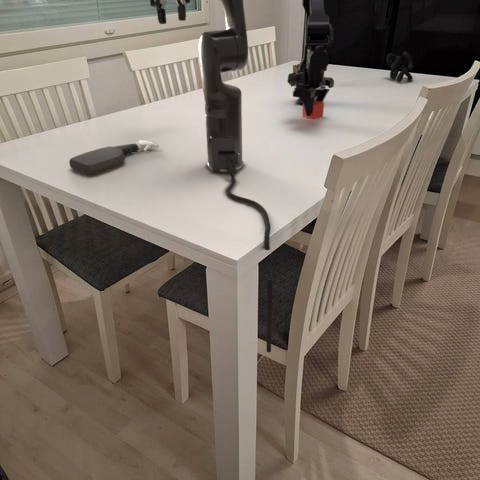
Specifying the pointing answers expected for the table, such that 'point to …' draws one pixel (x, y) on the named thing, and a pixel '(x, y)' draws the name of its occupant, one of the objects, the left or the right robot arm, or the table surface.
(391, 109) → the table surface
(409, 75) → the squiggle
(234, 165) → the left robot arm
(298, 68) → the cup
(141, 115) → the table surface
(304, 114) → the block
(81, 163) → the spray bottle
